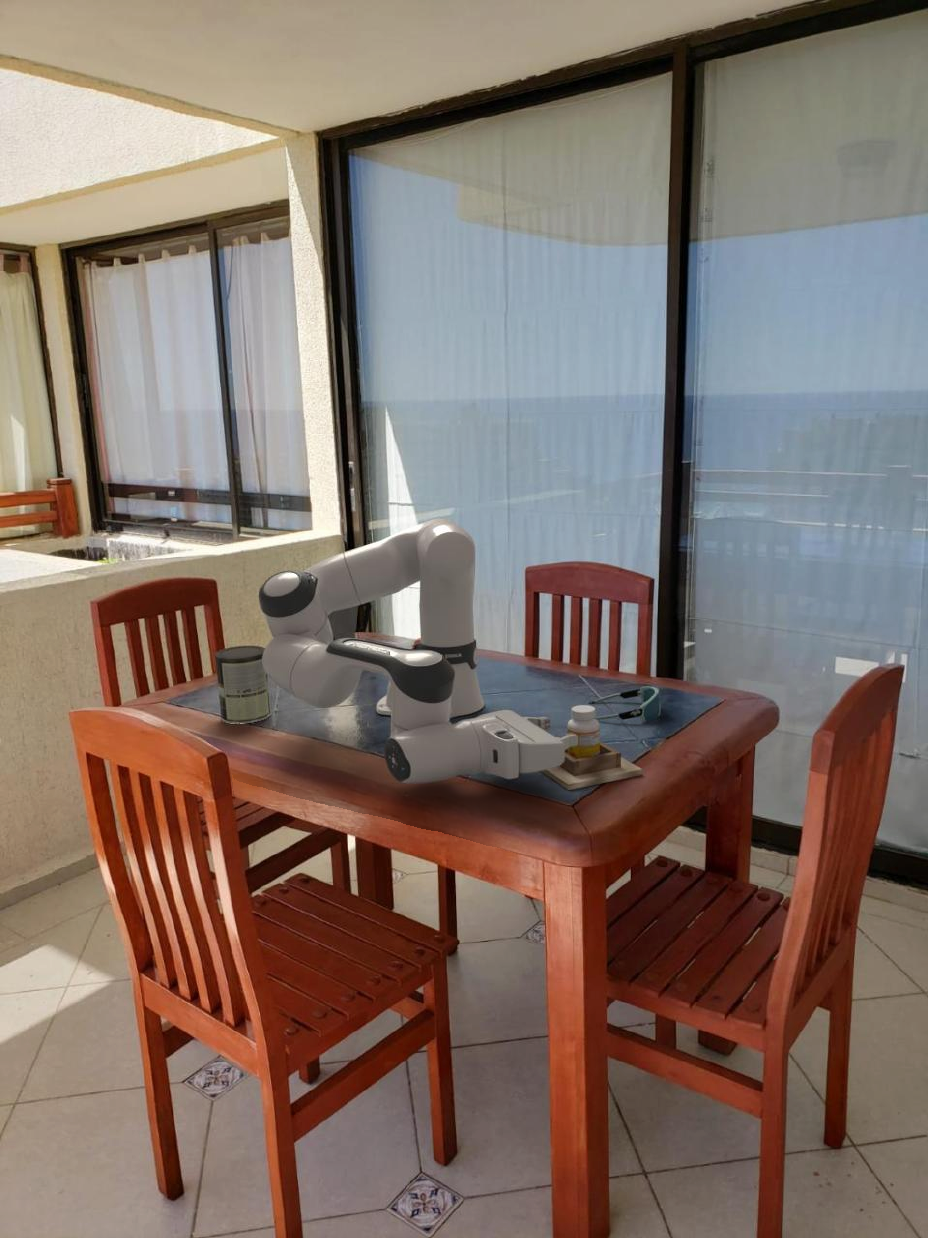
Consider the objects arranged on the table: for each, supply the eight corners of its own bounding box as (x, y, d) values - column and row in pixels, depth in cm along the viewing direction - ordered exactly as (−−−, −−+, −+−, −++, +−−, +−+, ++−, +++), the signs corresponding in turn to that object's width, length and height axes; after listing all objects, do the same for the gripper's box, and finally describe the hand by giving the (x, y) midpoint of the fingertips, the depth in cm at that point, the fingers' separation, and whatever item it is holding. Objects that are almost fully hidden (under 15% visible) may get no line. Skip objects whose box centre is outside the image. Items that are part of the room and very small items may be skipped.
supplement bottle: (565, 758, 161) (564, 704, 159) (596, 756, 161) (595, 702, 159) (570, 769, 156) (570, 714, 154) (602, 768, 156) (602, 712, 154)
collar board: (568, 790, 150) (568, 769, 149) (528, 762, 163) (528, 743, 162) (641, 774, 155) (642, 755, 155) (598, 749, 168) (598, 730, 167)
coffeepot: (328, 672, 226) (323, 599, 222) (311, 664, 234) (306, 594, 230) (383, 661, 235) (379, 590, 231) (364, 654, 242) (360, 586, 238)
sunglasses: (663, 725, 180) (659, 700, 179) (586, 733, 183) (582, 708, 182) (661, 703, 194) (658, 680, 193) (590, 710, 197) (586, 688, 196)
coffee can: (210, 720, 192) (203, 654, 189) (248, 706, 201) (242, 643, 198) (244, 728, 186) (238, 660, 184) (281, 714, 195) (276, 648, 192)
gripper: (461, 743, 160) (533, 730, 165) (514, 783, 142) (593, 768, 147) (460, 707, 159) (532, 696, 164) (513, 744, 140) (593, 729, 145)
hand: (561, 730), depth 155 cm, fingers open, 8 cm apart
